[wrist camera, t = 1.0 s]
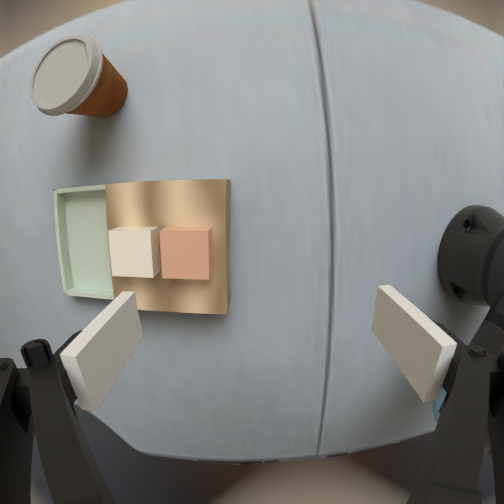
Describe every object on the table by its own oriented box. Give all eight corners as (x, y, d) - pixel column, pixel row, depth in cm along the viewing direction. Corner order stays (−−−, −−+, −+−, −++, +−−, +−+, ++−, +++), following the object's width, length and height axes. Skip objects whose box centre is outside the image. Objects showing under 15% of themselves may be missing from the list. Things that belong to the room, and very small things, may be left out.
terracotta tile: (211, 226, 31) (208, 230, 29) (212, 272, 33) (209, 279, 30) (166, 226, 31) (159, 230, 29) (168, 271, 33) (162, 278, 30)
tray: (121, 183, 35) (112, 183, 33) (128, 293, 39) (121, 300, 36) (63, 188, 35) (53, 189, 33) (73, 289, 39) (64, 294, 36)
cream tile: (157, 226, 31) (150, 230, 29) (160, 270, 33) (153, 277, 30) (117, 227, 32) (108, 230, 29) (121, 269, 33) (112, 275, 30)
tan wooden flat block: (230, 179, 35) (226, 179, 30) (230, 298, 39) (226, 314, 34) (123, 183, 35) (105, 184, 30) (130, 293, 39) (115, 307, 34)
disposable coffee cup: (131, 128, 34) (83, 111, 22) (73, 128, 33) (19, 117, 22) (145, 62, 31) (107, 25, 20) (88, 67, 31) (40, 39, 20)
